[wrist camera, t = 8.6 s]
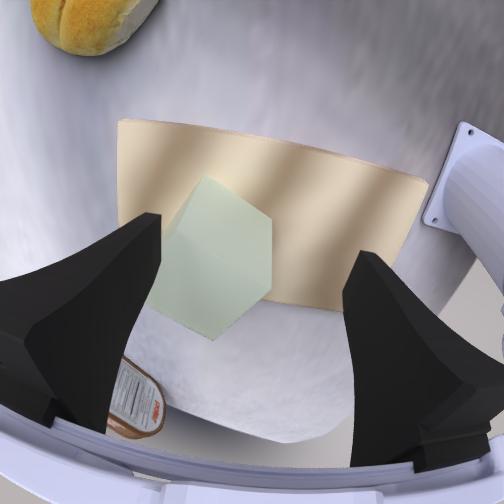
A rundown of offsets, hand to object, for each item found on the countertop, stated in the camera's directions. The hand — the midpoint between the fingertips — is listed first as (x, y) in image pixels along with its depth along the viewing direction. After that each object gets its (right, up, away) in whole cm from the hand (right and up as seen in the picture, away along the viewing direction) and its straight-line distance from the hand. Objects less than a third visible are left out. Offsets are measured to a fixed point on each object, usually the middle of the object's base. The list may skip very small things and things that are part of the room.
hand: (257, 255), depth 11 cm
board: (0, +2, +10) cm, 11 cm away
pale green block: (-3, +2, +9) cm, 10 cm away
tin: (-15, -12, +22) cm, 29 cm away
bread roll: (-10, +16, +2) cm, 19 cm away
